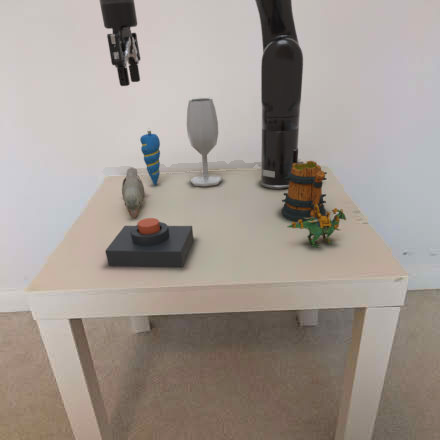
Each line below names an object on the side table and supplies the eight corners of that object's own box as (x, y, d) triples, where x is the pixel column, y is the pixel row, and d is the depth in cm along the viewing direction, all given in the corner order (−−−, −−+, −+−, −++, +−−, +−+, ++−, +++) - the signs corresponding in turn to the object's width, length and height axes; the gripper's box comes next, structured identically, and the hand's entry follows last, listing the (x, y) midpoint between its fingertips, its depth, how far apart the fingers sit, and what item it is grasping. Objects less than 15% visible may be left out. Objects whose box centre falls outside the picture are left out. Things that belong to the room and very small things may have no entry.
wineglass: (221, 186, 107) (217, 101, 96) (189, 188, 108) (181, 103, 96) (222, 176, 115) (218, 96, 103) (191, 178, 115) (184, 98, 103)
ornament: (144, 184, 112) (135, 128, 104) (161, 181, 114) (154, 125, 106) (149, 189, 108) (141, 131, 100) (167, 185, 110) (160, 128, 102)
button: (162, 226, 76) (161, 217, 75) (157, 235, 73) (155, 226, 72) (142, 226, 76) (140, 217, 75) (136, 235, 73) (134, 226, 72)
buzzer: (193, 240, 81) (191, 217, 78) (182, 267, 72) (179, 242, 69) (127, 239, 83) (122, 217, 80) (108, 266, 73) (102, 241, 71)
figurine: (347, 243, 76) (352, 202, 72) (288, 253, 74) (290, 212, 69) (339, 236, 79) (344, 196, 74) (282, 246, 76) (284, 205, 72)
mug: (274, 208, 93) (275, 157, 86) (315, 203, 94) (319, 152, 88) (294, 230, 82) (297, 175, 75) (340, 224, 83) (347, 169, 77)
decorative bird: (122, 220, 91) (116, 188, 87) (126, 196, 105) (120, 167, 101) (146, 217, 92) (141, 185, 88) (146, 194, 105) (142, 165, 101)
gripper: (122, -1, 82) (136, 86, 91) (142, 2, 94) (153, 79, 103) (88, 2, 83) (105, 88, 92) (112, 5, 95) (125, 81, 104)
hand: (130, 83), depth 98 cm, fingers open, 8 cm apart
